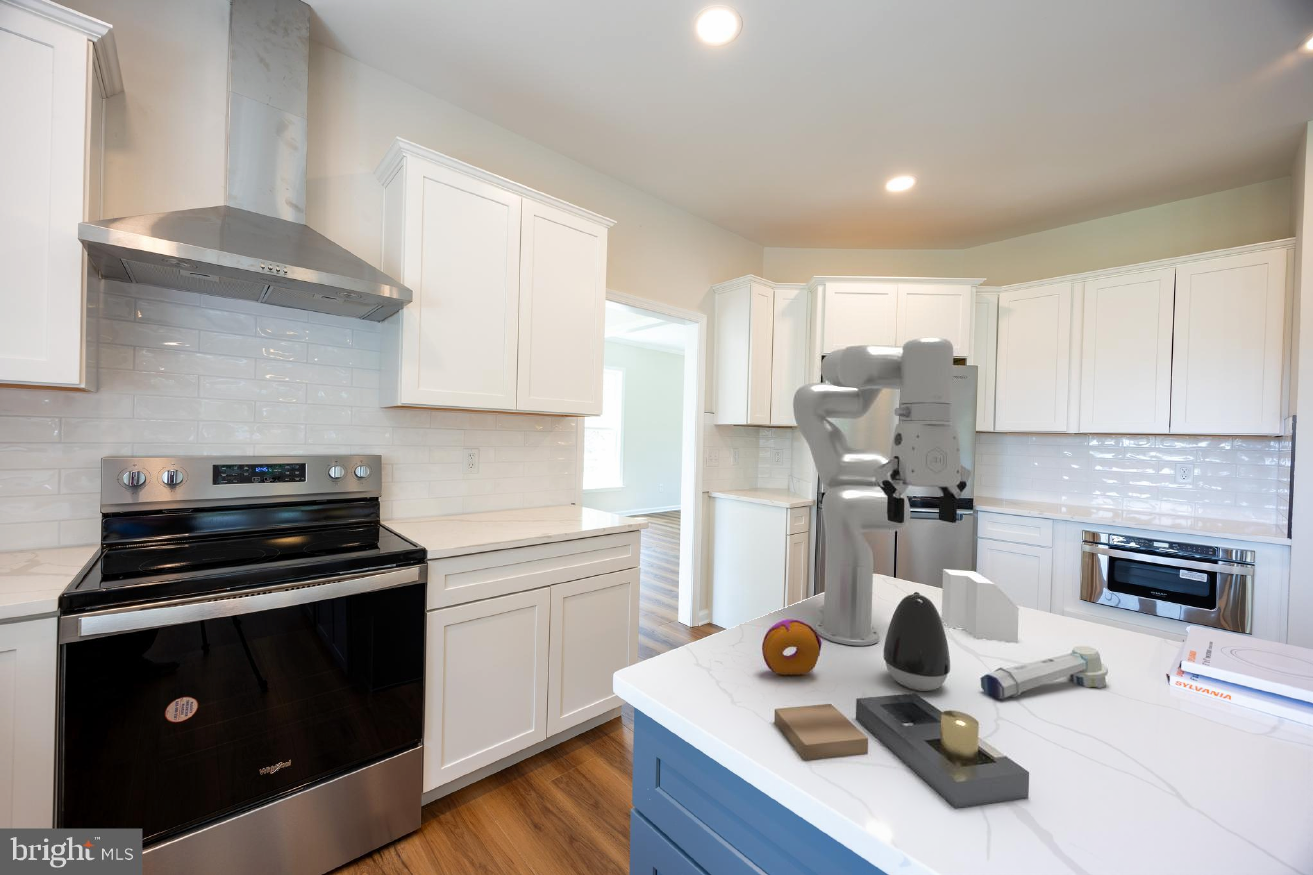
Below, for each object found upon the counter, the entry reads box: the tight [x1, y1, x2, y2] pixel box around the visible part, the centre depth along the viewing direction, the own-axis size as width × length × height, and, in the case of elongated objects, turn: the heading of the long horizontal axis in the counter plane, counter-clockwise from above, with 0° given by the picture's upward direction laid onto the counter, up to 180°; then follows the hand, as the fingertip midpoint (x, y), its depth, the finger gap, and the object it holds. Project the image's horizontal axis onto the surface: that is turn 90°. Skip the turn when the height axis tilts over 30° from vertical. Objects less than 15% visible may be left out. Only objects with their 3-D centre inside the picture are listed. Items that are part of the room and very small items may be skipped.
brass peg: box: [940, 709, 980, 768], centre depth 65 cm, size 4×4×7 cm
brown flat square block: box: [773, 703, 869, 761], centre depth 72 cm, size 9×9×2 cm
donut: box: [761, 618, 823, 676], centre depth 91 cm, size 8×9×10 cm
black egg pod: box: [882, 591, 951, 692], centre depth 89 cm, size 10×10×15 cm
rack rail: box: [855, 692, 1030, 809], centre depth 69 cm, size 19×10×3 cm, turn 13°
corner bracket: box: [941, 568, 1019, 644], centre depth 116 cm, size 11×11×12 cm
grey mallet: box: [979, 645, 1109, 701], centre depth 89 cm, size 5×7×25 cm
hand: (921, 521), depth 85 cm, fingers open, 9 cm apart
